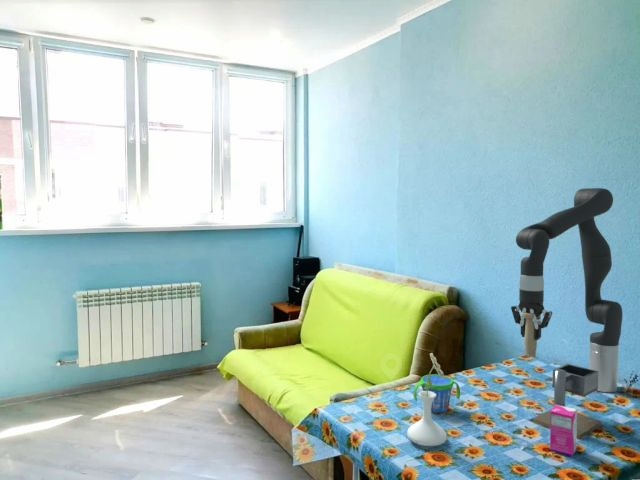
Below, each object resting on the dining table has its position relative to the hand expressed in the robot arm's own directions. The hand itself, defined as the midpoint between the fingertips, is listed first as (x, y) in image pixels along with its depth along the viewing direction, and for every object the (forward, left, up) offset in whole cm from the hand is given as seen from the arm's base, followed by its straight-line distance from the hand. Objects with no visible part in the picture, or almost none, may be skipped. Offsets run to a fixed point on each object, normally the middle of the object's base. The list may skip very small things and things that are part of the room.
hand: (530, 337), depth 161 cm
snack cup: (+28, -17, -24) cm, 40 cm away
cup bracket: (+4, +15, -23) cm, 28 cm away
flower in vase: (+47, -5, -23) cm, 53 cm away
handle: (0, 0, -7) cm, 7 cm away
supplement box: (+22, +22, -23) cm, 39 cm away
